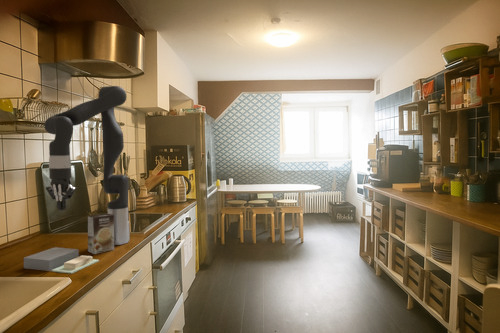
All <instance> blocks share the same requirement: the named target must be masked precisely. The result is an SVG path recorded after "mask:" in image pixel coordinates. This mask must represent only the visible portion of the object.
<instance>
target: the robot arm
mask: <svg viewBox="0 0 500 333" xmlns="http://www.w3.org/2000/svg"><path fill="white" fill-rule="evenodd" d="M126 101H127V92H126V90H125V89H124V88H123V87H122V86H119V85H110V86H109V85H108V86H102V87H101V88H100V89H99V92H98V97H97V98H95V99H92V100H91V99H90V100H88V101H84V102H82V103H80V104H77V105H75V106H73V107H71V108H70V109H68V110H66V111H62V112H60V113H57V114H54V115H51V116H50V117H48V118H47V119H46V120H45V122H44V124H43V125H44V129H45V131H46V132H47V133H48V134H50V135H54V140H51V141H50V142H49V144H48V151H49V152H48V154H49V158H48V171H49V172H48V173H49V177H48V178H49V179H50V180H51V181H50V185H49V186H46V187H45V190H46V191H47V193H48V194H49V196H50V197H51V199H52V200H55V201H56V207H57V210H58V211H65V210H66V208H67V201H68V200H71V198H72V196H73V195H74V193H75V192H76V191H77V187H76V186H73V185H72V182H71V179H72V161H71V147H70V146H71V145H70V144H71V142H72V138H73V133H74V127H75V126H79V125H81V124H83V123H85V122H86V121H89V120H90V119H91V118H93V117H95V116H97V115H99V114H100V116H101V117H100V119H101V129H102V132H101V133H102V150H103V174H102V175H103V176H102V177H103V180H102V183H103V184H102V185H103V190H104V192H105V193H106V194H108V195H115V194H116V195H118V198H116V199H114V200H111V201H109V202H108V203H107V214H113V215H114V246H118V245H125V244H128V243H129V241H131V239H130V236H131V235H130V221H129V189H130V188H129V187H130V186H129V184H130V181H129V177H128V175H127V174H114V167H115V164H116V162H117V160H118V159H119V157H120V156H121V154H122V152H123V151H124V147H125V145H124V142H125V141H124V133H123V131H122V128H121V126H120V125H119V122H118V121H117V119H116V116H115V108H116V107H120V106H122V105H124V104H125V103H126Z"/></svg>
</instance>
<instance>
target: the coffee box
mask: <svg viewBox="0 0 500 333" xmlns="http://www.w3.org/2000/svg"><path fill="white" fill-rule="evenodd" d="M114 250H115V245H114V215H113V214H108V213H101V214H93V215H88V216H87V252H88V253H91V254H93V255H97V254H100V253H101V254H102V253H105V252H106V253H107V252H109V251H114Z"/></svg>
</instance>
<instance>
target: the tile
mask: <svg viewBox="0 0 500 333" xmlns="http://www.w3.org/2000/svg"><path fill="white" fill-rule="evenodd" d="M93 259H94V258H93V256H91V255H79V257H77V258H75V259H72V260H70V261H67V262H65V263H64V268H67V269H77V268H79V267H81V266H84V265H86V264H88V263H90V262H92V261H93Z"/></svg>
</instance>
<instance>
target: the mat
mask: <svg viewBox="0 0 500 333" xmlns="http://www.w3.org/2000/svg"><path fill="white" fill-rule="evenodd" d="M99 262H100V260H99V259H94V258H93V261H92V262H90V263H88V264H86V265H84V266H81V267H79V268H77V269H67V268H64V265H62V266H60V267H58V268H55V269H53V270H51V272H52V273H53V272H54V273H64V274H74V273H76V272H78V271H81V270H83V269H85V268H87V267H90V266H91V265H93V264H96V263H99Z"/></svg>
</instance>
